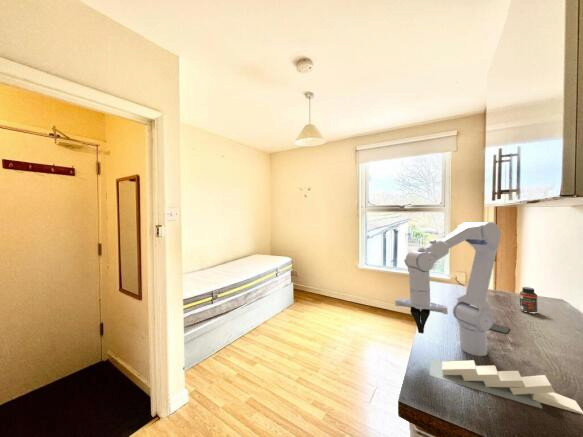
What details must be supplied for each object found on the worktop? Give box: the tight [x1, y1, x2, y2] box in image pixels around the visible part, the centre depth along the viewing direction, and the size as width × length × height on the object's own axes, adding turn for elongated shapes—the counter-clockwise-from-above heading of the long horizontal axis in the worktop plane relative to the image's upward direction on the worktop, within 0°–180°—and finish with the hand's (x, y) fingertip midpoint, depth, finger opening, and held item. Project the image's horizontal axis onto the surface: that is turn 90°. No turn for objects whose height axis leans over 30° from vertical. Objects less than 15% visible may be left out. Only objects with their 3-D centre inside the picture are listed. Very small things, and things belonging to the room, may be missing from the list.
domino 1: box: [462, 365, 501, 381], centre depth 64 cm, size 4×2×8 cm
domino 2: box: [484, 370, 525, 387], centre depth 61 cm, size 4×2×8 cm
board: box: [429, 359, 544, 410], centre depth 64 cm, size 9×22×1 cm, turn 57°
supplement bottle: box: [519, 286, 539, 312], centre depth 112 cm, size 6×6×11 cm
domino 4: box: [530, 392, 583, 415], centre depth 56 cm, size 4×2×8 cm
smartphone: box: [488, 323, 511, 335], centre depth 99 cm, size 7×1×15 cm
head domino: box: [441, 359, 478, 375], centre depth 66 cm, size 4×2×8 cm
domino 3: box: [510, 374, 556, 395], centre depth 58 cm, size 4×2×8 cm
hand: (421, 331), depth 75 cm, fingers closed
